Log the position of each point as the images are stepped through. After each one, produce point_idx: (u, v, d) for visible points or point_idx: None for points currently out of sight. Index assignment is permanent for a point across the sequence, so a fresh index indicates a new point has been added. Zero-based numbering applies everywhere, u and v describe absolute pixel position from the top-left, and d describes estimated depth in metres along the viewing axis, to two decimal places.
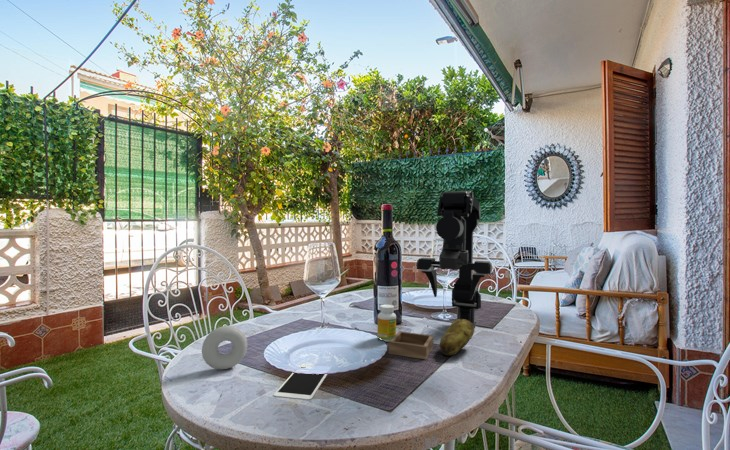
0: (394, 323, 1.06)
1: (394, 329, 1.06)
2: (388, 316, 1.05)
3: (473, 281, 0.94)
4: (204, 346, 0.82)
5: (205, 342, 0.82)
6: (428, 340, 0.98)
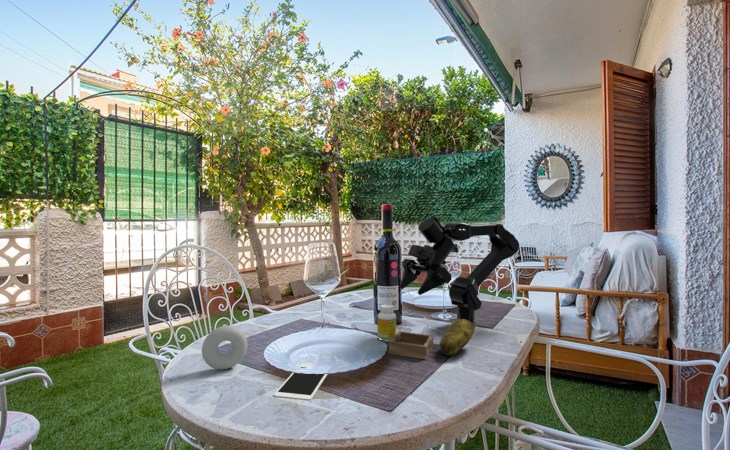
0: (394, 323, 1.06)
1: (394, 329, 1.06)
2: (388, 316, 1.05)
3: (427, 278, 1.08)
4: (204, 346, 0.82)
5: (205, 342, 0.82)
6: (428, 340, 0.98)
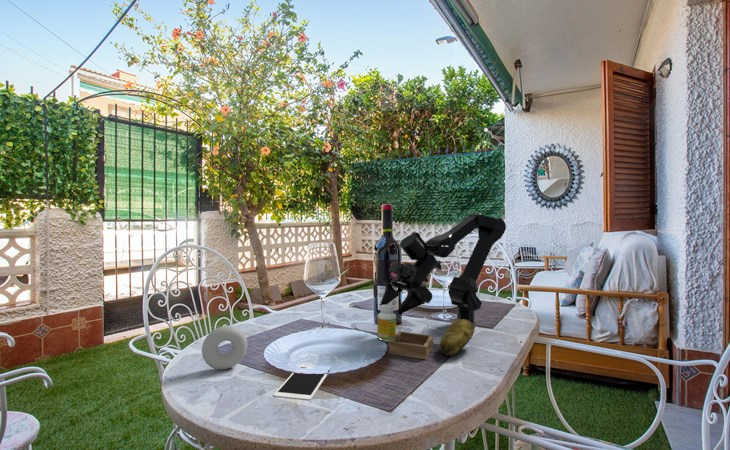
0: (394, 323, 1.06)
1: (394, 329, 1.06)
2: (388, 316, 1.05)
3: (407, 296, 1.05)
4: (204, 346, 0.82)
5: (205, 342, 0.82)
6: (428, 340, 0.98)
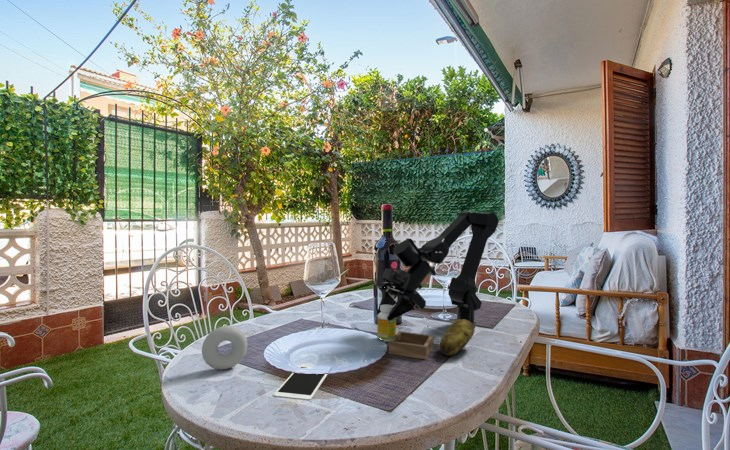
0: (394, 323, 1.06)
1: (394, 329, 1.06)
2: None
3: (397, 303, 1.05)
4: (204, 346, 0.82)
5: (205, 342, 0.82)
6: (428, 340, 0.98)
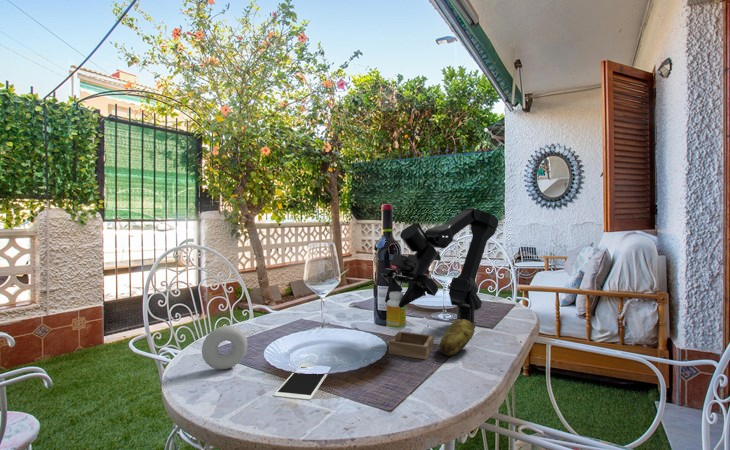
0: (405, 310, 1.03)
1: (405, 316, 1.03)
2: None
3: (408, 289, 1.02)
4: (204, 346, 0.82)
5: (205, 342, 0.82)
6: (428, 340, 0.98)
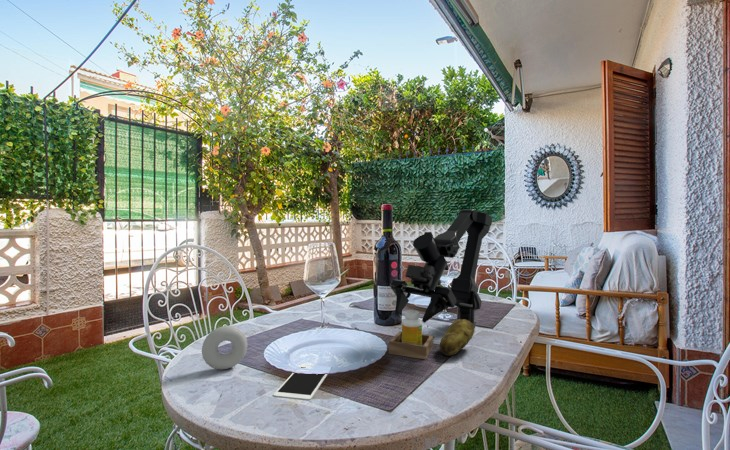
0: (421, 329, 0.98)
1: (421, 336, 0.99)
2: (417, 323, 0.97)
3: (430, 302, 0.96)
4: (204, 346, 0.82)
5: (205, 342, 0.82)
6: (428, 340, 0.98)
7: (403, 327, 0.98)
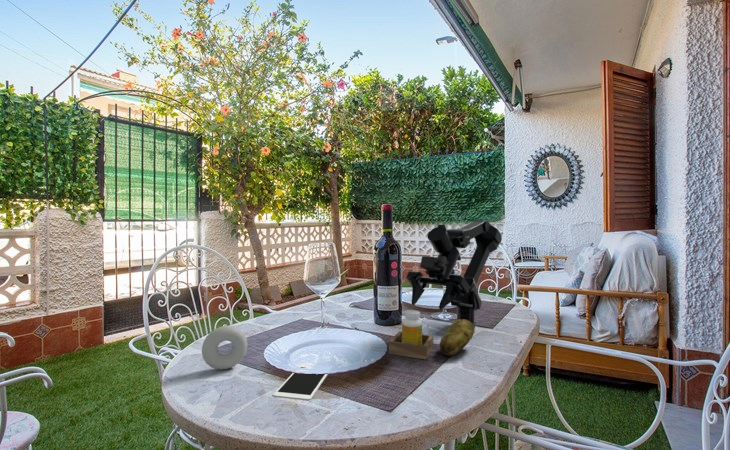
0: (421, 329, 0.98)
1: (421, 336, 0.99)
2: (417, 323, 0.97)
3: (446, 290, 1.02)
4: (204, 346, 0.82)
5: (205, 342, 0.82)
6: (428, 340, 0.98)
7: (403, 327, 0.98)
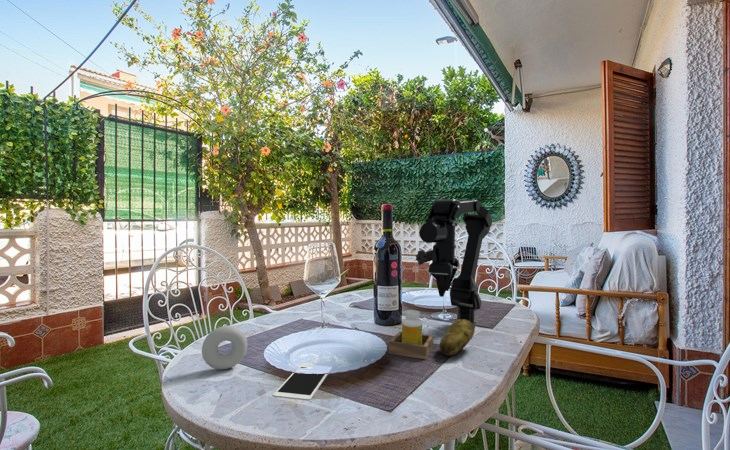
0: None
1: (421, 336, 0.99)
2: (417, 323, 0.97)
3: None
4: (204, 346, 0.82)
5: (205, 342, 0.82)
6: (428, 340, 0.98)
7: (403, 327, 0.98)
